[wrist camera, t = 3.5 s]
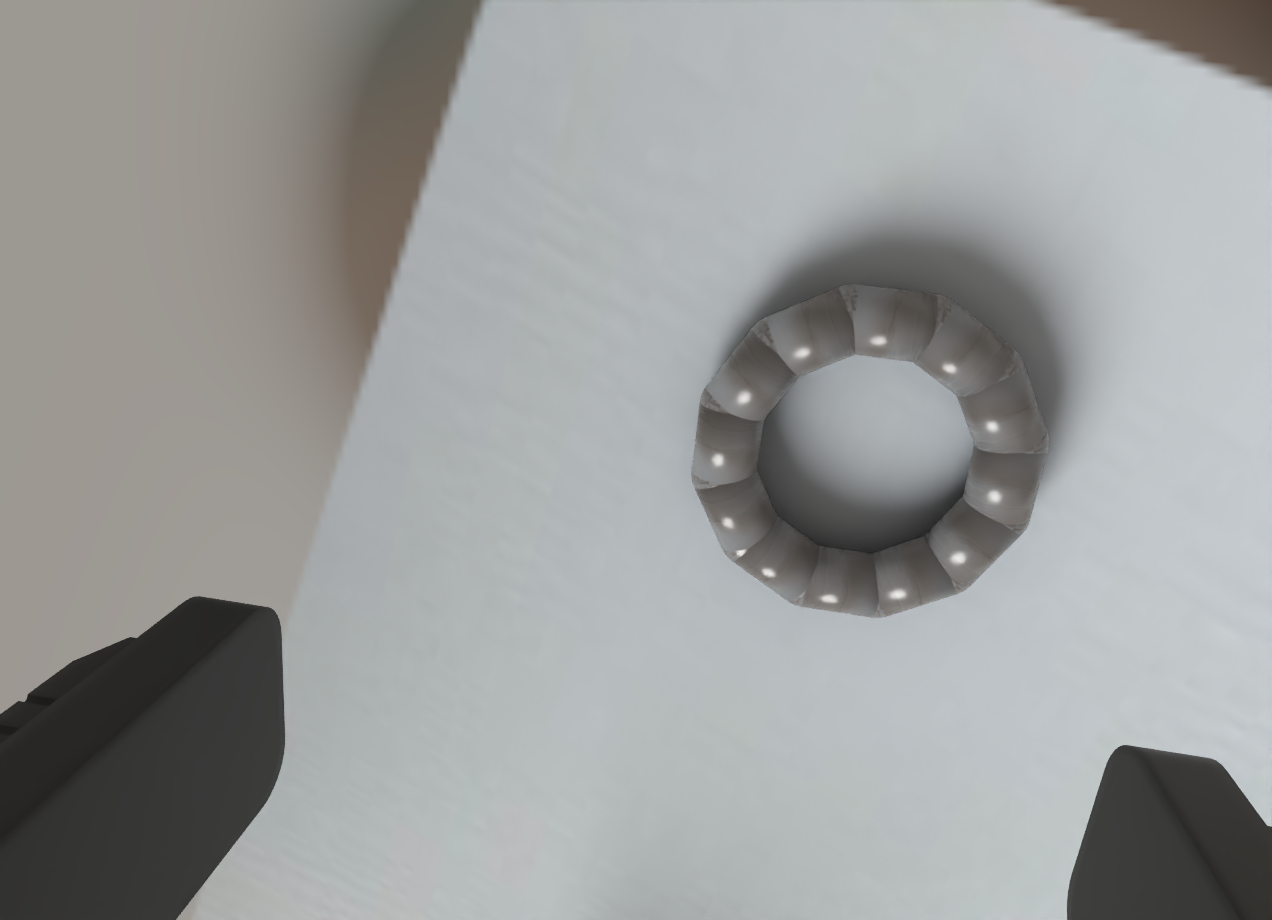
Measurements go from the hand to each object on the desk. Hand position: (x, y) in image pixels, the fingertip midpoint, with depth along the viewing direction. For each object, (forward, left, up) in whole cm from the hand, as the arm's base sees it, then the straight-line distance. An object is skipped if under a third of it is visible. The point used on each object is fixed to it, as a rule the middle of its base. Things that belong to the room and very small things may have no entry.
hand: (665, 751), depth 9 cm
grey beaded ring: (+3, 0, -12) cm, 12 cm away
